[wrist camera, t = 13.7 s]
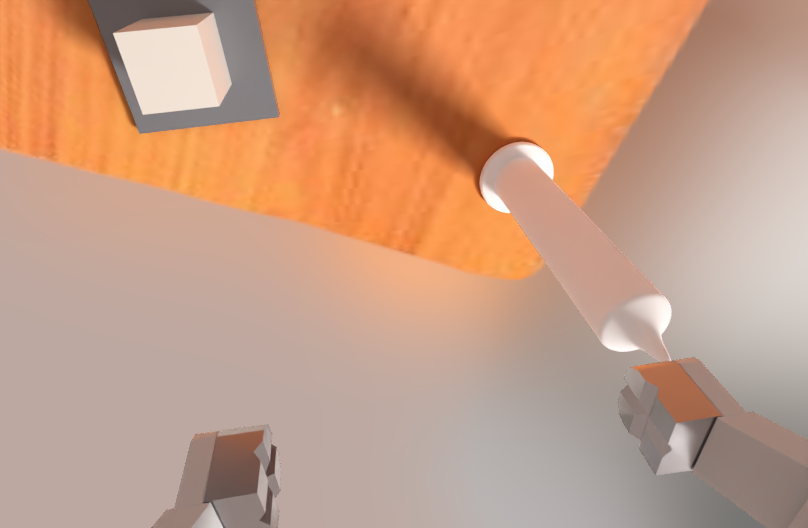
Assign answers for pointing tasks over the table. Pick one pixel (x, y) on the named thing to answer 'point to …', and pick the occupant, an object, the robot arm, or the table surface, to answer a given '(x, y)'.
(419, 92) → the table surface
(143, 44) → the cream block
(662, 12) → the table surface
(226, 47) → the slate plate
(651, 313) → the candle
